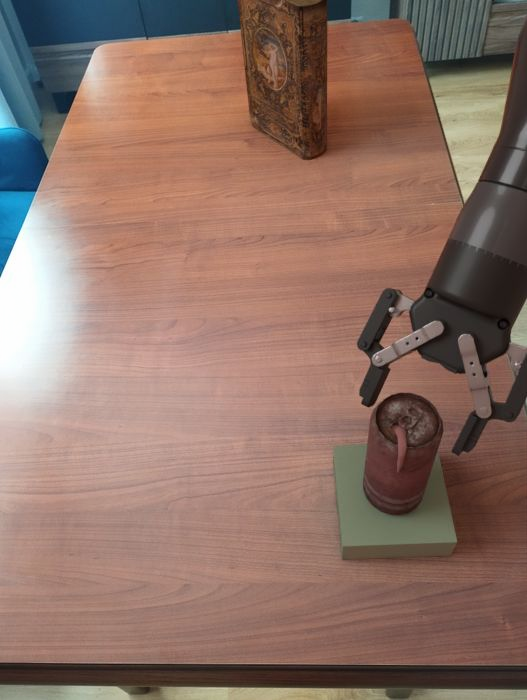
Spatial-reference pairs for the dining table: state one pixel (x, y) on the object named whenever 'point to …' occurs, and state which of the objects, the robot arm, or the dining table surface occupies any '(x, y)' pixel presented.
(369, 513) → the plate
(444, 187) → the dining table surface
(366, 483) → the can
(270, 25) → the book
